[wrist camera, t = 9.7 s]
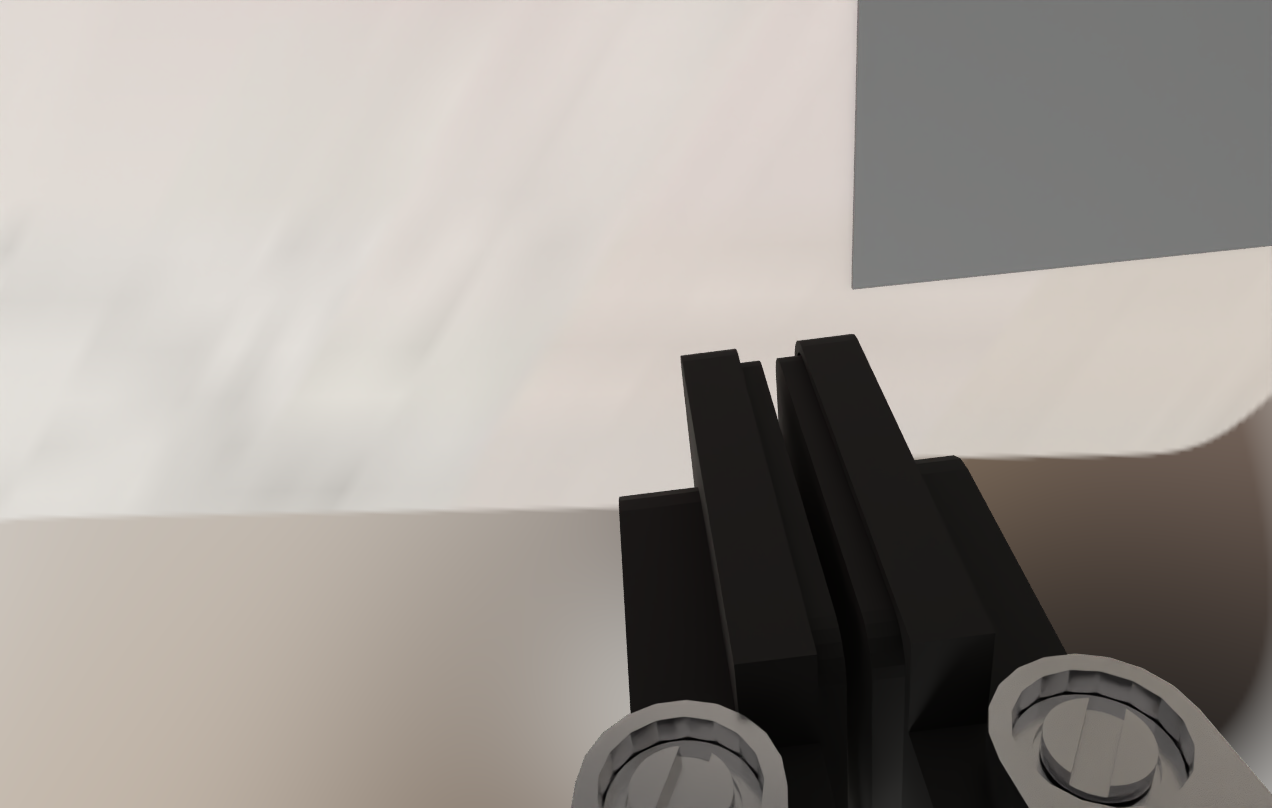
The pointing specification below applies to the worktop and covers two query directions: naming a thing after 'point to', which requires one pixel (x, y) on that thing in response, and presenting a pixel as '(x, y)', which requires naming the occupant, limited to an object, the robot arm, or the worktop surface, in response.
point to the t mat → (1057, 134)
